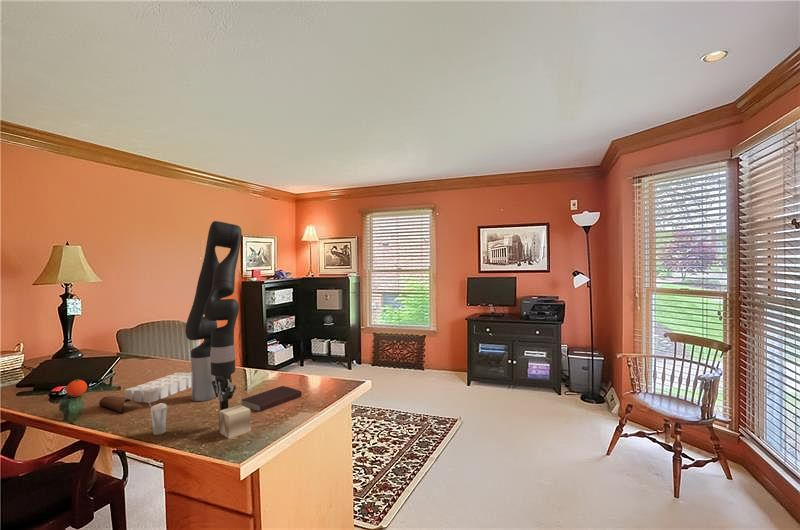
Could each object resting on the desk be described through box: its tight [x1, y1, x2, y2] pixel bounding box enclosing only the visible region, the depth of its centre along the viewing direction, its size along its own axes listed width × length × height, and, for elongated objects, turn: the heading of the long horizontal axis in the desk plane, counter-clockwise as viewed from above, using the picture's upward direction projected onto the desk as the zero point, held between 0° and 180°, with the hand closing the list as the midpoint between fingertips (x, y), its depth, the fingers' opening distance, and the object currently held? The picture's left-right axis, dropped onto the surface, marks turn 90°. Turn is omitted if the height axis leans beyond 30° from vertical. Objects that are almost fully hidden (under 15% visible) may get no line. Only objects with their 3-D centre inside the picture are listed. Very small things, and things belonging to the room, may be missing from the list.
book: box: [240, 385, 303, 412], centre depth 151 cm, size 12×19×3 cm, turn 145°
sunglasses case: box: [98, 395, 144, 415], centre depth 149 cm, size 18×7×7 cm, turn 60°
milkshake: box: [148, 402, 168, 436], centre depth 124 cm, size 4×5×10 cm
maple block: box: [218, 404, 252, 439], centre depth 123 cm, size 7×7×7 cm
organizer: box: [124, 371, 191, 404], centre depth 172 cm, size 13×5×35 cm
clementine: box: [65, 379, 88, 398], centre depth 164 cm, size 8×7×7 cm
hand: (224, 411), depth 128 cm, fingers closed
